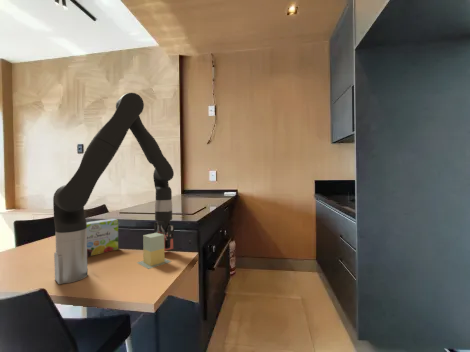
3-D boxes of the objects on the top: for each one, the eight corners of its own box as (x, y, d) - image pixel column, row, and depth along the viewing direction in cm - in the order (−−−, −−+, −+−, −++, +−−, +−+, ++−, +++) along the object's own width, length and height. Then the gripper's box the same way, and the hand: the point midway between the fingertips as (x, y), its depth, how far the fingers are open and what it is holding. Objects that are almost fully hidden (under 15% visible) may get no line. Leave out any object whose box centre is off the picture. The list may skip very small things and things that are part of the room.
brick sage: (150, 251, 94) (150, 237, 94) (143, 248, 98) (143, 235, 98) (164, 248, 98) (164, 234, 98) (156, 245, 102) (156, 232, 102)
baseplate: (148, 270, 91) (148, 268, 91) (136, 264, 98) (136, 262, 98) (171, 263, 98) (171, 261, 98) (158, 258, 105) (158, 256, 105)
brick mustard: (150, 266, 94) (150, 251, 94) (143, 262, 98) (143, 248, 98) (164, 261, 98) (164, 248, 98) (157, 258, 102) (156, 245, 102)
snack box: (69, 262, 102) (69, 226, 102) (64, 259, 106) (64, 225, 106) (119, 249, 119) (118, 218, 119) (113, 247, 123) (112, 217, 123)
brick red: (161, 251, 105) (161, 239, 105) (154, 248, 109) (154, 236, 109) (173, 248, 109) (173, 236, 109) (166, 246, 113) (166, 234, 113)
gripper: (148, 209, 111) (148, 245, 111) (164, 212, 102) (164, 252, 102) (162, 207, 117) (162, 242, 117) (179, 210, 107) (179, 248, 107)
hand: (163, 246), depth 109 cm, fingers closed on brick red, 6 cm apart
